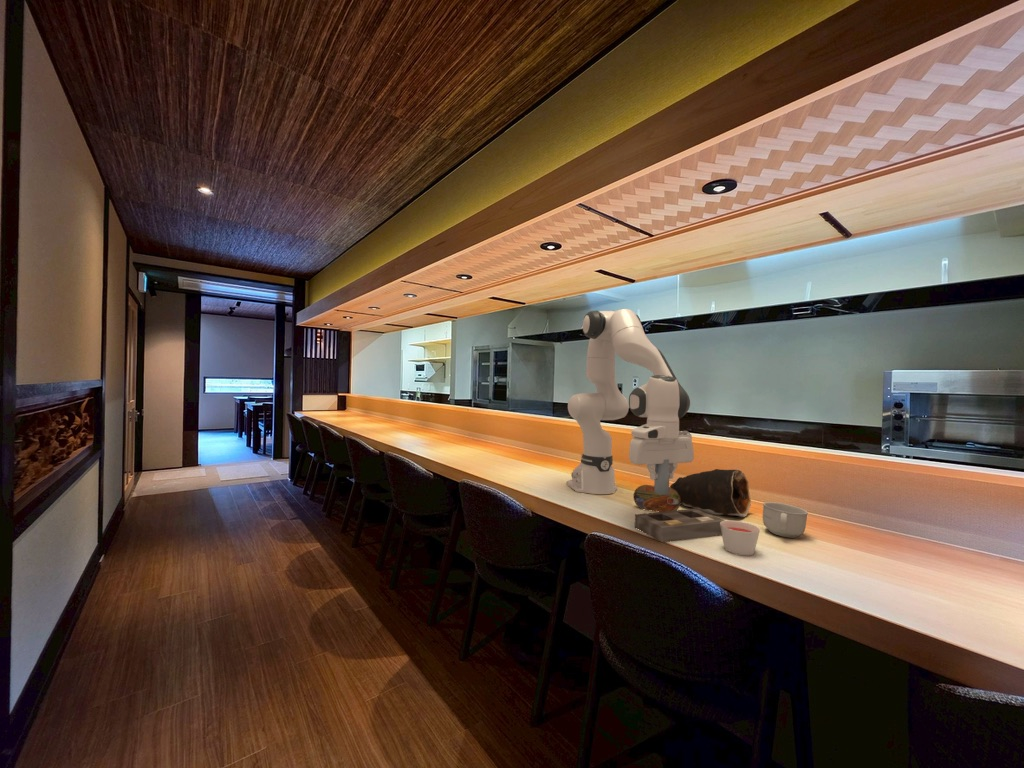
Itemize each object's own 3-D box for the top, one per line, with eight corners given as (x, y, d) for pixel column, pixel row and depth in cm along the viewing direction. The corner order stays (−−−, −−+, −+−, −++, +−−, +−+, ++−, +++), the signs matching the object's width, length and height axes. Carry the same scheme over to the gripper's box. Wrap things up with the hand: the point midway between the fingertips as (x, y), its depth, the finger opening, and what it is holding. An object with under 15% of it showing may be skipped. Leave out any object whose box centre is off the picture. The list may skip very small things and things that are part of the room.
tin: (633, 508, 144) (633, 483, 144) (634, 506, 146) (635, 482, 146) (679, 515, 137) (680, 489, 137) (680, 513, 139) (681, 487, 139)
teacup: (768, 525, 128) (768, 499, 128) (810, 534, 121) (811, 507, 121) (754, 536, 119) (755, 508, 119) (799, 547, 111) (800, 517, 111)
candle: (743, 560, 102) (744, 534, 102) (711, 546, 110) (712, 522, 110) (767, 554, 106) (767, 529, 106) (734, 542, 114) (735, 518, 114)
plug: (651, 491, 122) (652, 457, 122) (662, 490, 123) (663, 457, 123) (660, 495, 118) (661, 459, 118) (672, 494, 119) (672, 459, 120)
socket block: (634, 527, 123) (635, 513, 123) (694, 521, 131) (694, 507, 131) (662, 542, 112) (662, 526, 112) (725, 534, 119) (725, 519, 119)
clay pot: (675, 466, 160) (744, 463, 141) (684, 506, 159) (755, 508, 140) (656, 476, 149) (728, 475, 131) (665, 518, 149) (739, 523, 130)
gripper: (683, 429, 127) (682, 474, 127) (626, 430, 121) (625, 478, 120) (699, 431, 121) (698, 479, 121) (640, 432, 115) (639, 483, 115)
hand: (661, 478), depth 121 cm, fingers closed on plug, 4 cm apart
